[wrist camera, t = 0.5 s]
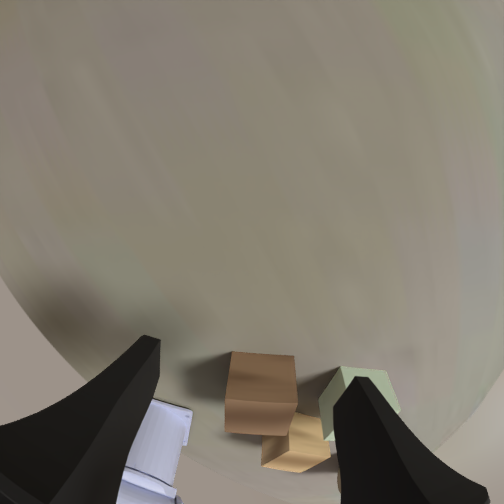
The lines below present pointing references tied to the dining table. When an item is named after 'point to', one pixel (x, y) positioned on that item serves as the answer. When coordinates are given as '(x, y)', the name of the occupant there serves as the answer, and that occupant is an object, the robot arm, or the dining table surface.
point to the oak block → (296, 446)
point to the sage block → (340, 385)
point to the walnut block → (260, 394)
